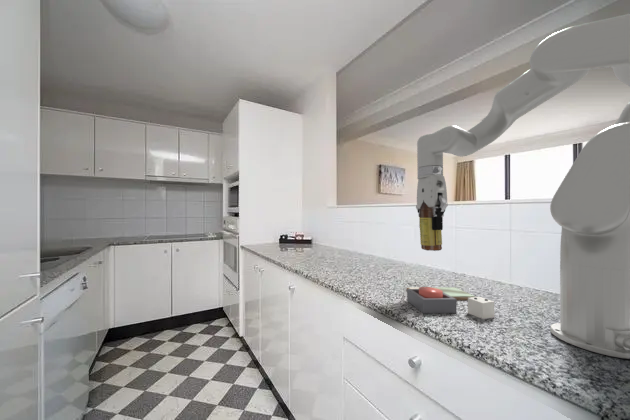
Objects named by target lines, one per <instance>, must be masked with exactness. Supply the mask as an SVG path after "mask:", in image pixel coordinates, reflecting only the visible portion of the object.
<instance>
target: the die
mask: <svg viewBox="0 0 630 420" xmlns="http://www.w3.org/2000/svg"><path fill="white" fill-rule="evenodd" d="M467 314H470V315H472V316H474V317H476V318H479V319H482V320H486V319H493V318H495V301H494V300H491V299H487V298H485V297H481V296H476V297H471V298H468V300H467Z"/></svg>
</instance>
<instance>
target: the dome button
mask: <svg viewBox="0 0 630 420" xmlns="http://www.w3.org/2000/svg"><path fill="white" fill-rule="evenodd" d="M419 295H421V296H422V297H424V298H443V291H442V290H440V289H437V288H433V287H430V286H422V287H421V286H420V288H419Z"/></svg>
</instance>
